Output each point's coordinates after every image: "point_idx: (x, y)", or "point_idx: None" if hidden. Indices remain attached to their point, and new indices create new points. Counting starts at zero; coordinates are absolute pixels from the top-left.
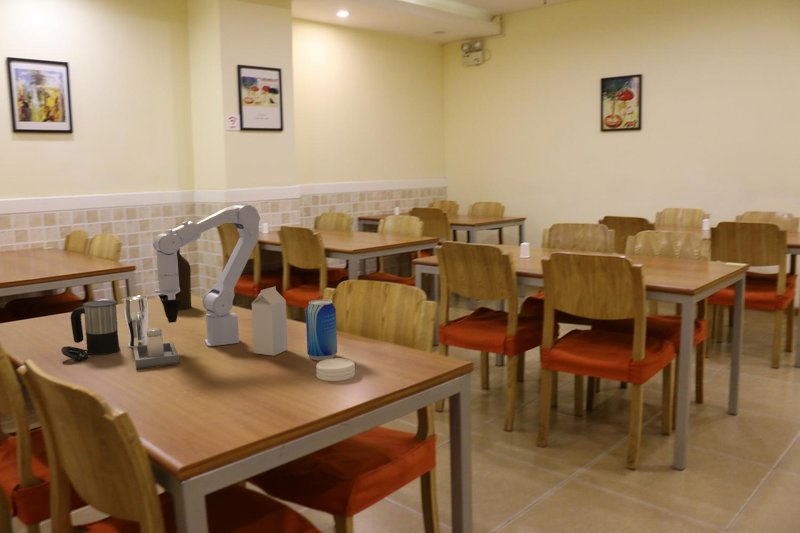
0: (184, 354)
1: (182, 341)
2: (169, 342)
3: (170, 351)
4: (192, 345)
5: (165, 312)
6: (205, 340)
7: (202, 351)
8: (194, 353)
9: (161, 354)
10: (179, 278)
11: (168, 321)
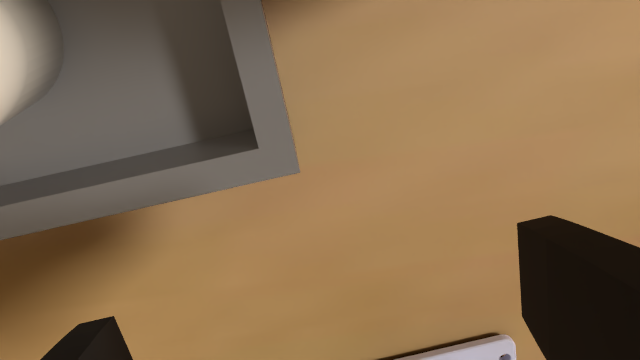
0: (143, 246)
1: (575, 176)
2: (284, 145)
3: (191, 141)
4: (412, 266)
5: (570, 260)
6: (474, 349)
7: (210, 352)
8: (162, 310)
9: None
10: None
11: (68, 334)
